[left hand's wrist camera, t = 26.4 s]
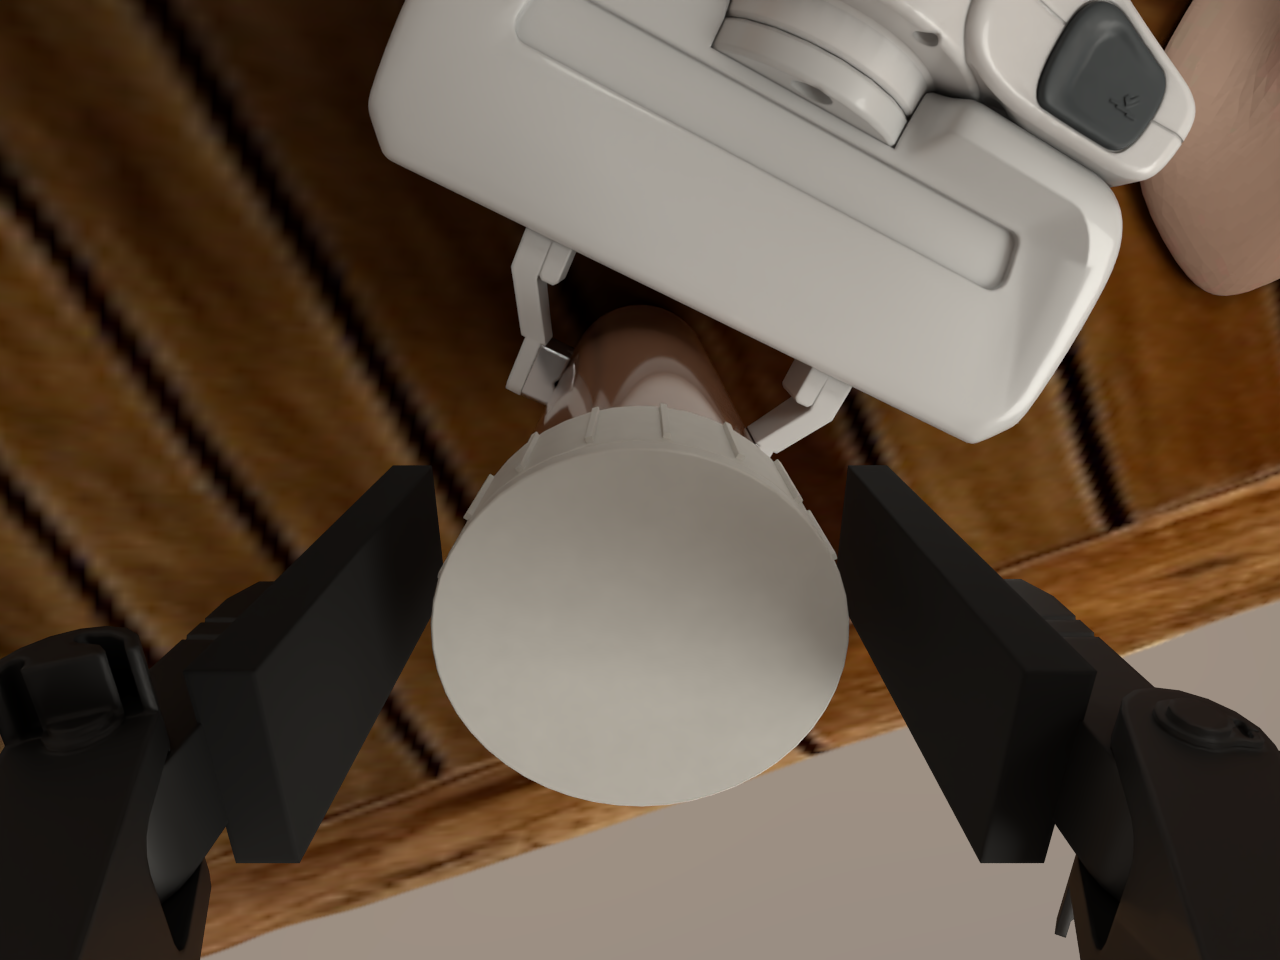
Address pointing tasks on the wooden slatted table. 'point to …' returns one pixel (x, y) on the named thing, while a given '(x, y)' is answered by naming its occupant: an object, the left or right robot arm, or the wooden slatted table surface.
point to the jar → (640, 370)
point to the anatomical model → (1225, 149)
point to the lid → (640, 610)
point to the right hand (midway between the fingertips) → (629, 439)
